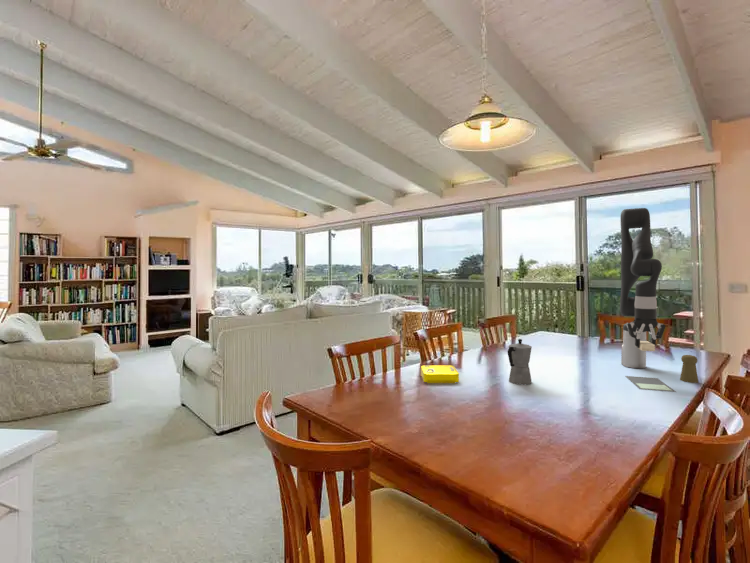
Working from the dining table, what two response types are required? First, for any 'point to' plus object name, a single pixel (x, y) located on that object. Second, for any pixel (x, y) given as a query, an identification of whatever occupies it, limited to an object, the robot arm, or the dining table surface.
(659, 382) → the grey board
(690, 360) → the cork
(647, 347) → the maple tile
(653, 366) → the dining table surface
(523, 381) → the coffeepot
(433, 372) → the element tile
